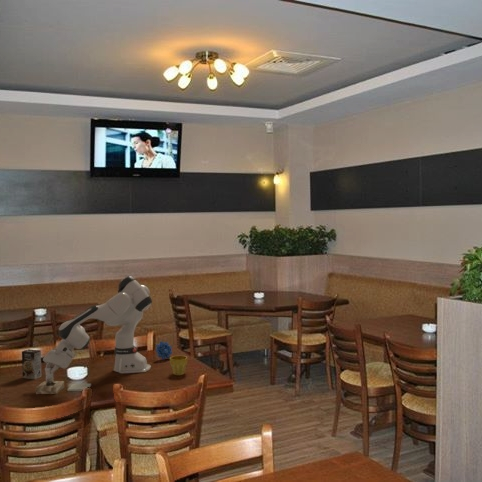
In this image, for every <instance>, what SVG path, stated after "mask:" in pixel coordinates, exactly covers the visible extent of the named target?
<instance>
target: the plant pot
mask: <svg viewBox="0 0 482 482" xmlns="http://www.w3.org/2000/svg"><path fill="white" fill-rule="evenodd" d="M169 364H170V366H171V369H172V374H173V375H174V376H182V375H185V373H186V367H187V364H188V356H186V355H179V354H178V355H173V356H170V358H169Z"/></svg>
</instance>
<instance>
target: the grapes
mask: <svg viewBox="0 0 482 482" xmlns="http://www.w3.org/2000/svg"><path fill="white" fill-rule="evenodd" d="M155 347H156V348H155V353H156V356H157V357H158V358H161V359H162V360H166V359H170V357H171V355H172V354H173V350H172V348H173V347H172V346H171V345H169V342H167V341H165V342H164V341H160V342H159V343H157V344H156V345H155Z"/></svg>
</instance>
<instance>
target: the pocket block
mask: <svg viewBox="0 0 482 482" xmlns="http://www.w3.org/2000/svg"><path fill="white" fill-rule="evenodd" d="M64 388H65V380H54V385H53V386H46V380H44V381H42V382H41V383H40V384H38V385H37V386H36V387H35V394H36V395H53V394H54V395H57V394H59V392H61V391H62V390H63V389H64Z"/></svg>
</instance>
